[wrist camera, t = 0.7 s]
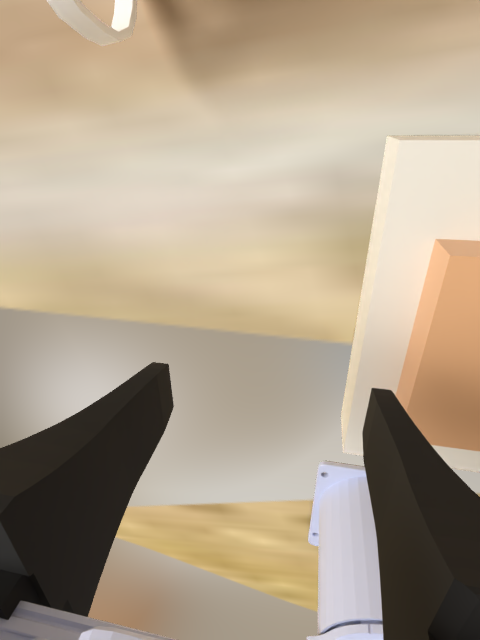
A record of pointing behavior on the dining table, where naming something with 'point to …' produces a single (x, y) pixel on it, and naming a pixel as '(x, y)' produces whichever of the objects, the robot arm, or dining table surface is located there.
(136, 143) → the dining table surface
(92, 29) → the cup
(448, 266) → the tile
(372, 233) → the cream flat block
